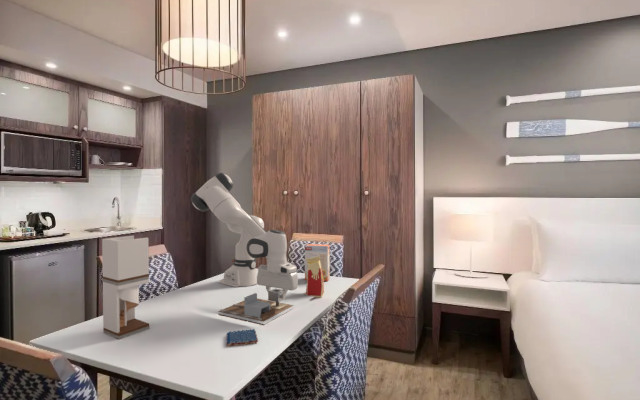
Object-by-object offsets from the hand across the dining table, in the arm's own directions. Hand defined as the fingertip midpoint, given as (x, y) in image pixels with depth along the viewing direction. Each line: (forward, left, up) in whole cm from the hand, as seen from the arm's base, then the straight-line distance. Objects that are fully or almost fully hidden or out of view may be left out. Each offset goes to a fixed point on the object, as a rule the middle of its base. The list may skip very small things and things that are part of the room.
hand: (276, 297), depth 156 cm
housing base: (-6, -7, -5) cm, 10 cm away
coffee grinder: (-36, -47, -6) cm, 59 cm away
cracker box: (-9, +54, -6) cm, 55 cm away
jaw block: (0, 0, -1) cm, 1 cm away
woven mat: (+7, -32, -6) cm, 33 cm away
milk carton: (+4, +27, -6) cm, 28 cm away
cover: (-1, -13, -4) cm, 13 cm away
